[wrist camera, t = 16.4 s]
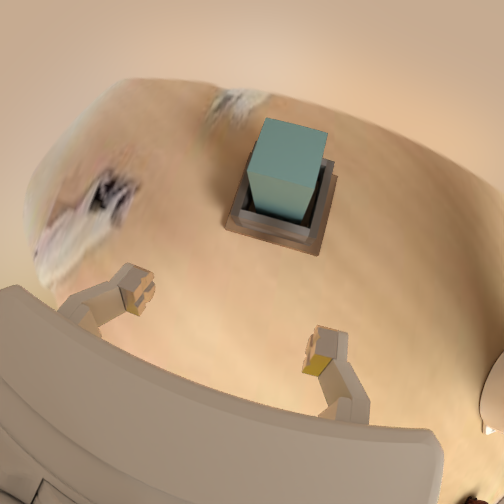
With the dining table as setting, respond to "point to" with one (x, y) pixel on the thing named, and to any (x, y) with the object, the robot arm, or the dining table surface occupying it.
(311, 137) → the teal block
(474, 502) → the mate gourd
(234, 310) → the dining table surface
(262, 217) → the box
